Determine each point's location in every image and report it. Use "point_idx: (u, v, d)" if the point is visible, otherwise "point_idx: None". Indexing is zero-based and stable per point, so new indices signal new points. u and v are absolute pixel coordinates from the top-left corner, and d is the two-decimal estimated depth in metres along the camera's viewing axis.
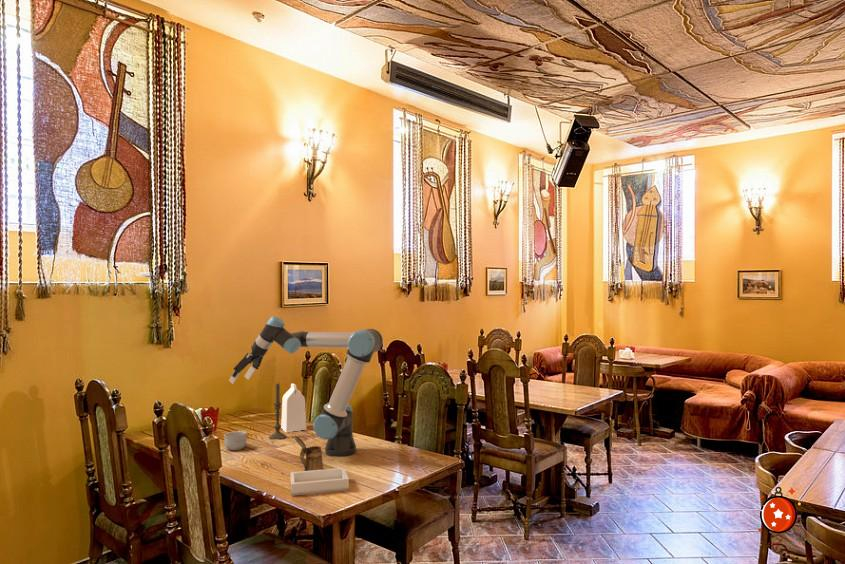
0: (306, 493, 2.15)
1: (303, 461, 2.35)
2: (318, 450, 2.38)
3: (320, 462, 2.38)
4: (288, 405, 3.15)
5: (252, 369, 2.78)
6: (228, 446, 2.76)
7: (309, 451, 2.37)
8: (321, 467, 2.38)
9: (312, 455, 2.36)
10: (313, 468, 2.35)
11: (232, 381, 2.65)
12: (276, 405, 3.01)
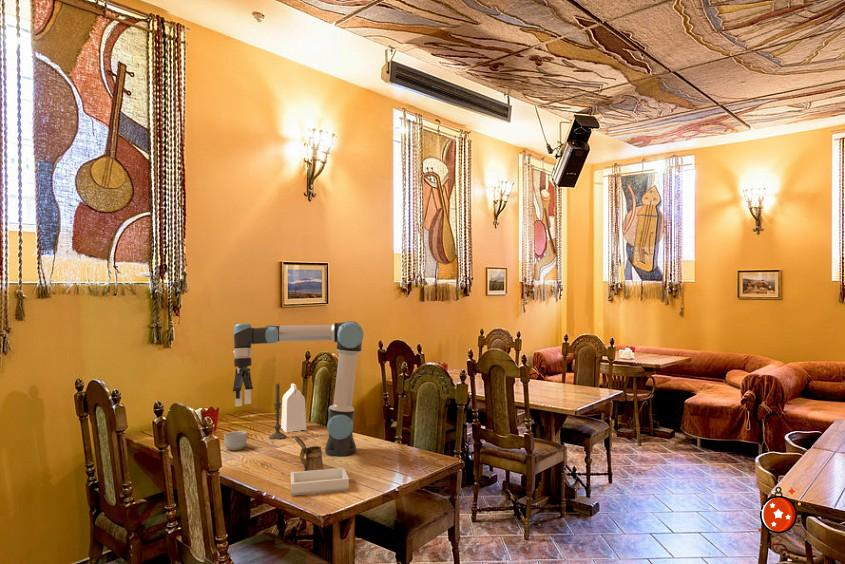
0: (306, 493, 2.15)
1: (303, 461, 2.35)
2: (318, 450, 2.38)
3: (320, 462, 2.38)
4: (288, 405, 3.15)
5: (248, 391, 2.58)
6: (228, 446, 2.76)
7: (309, 451, 2.37)
8: (321, 467, 2.38)
9: (312, 455, 2.36)
10: (313, 468, 2.35)
11: (239, 404, 2.44)
12: (276, 405, 3.01)
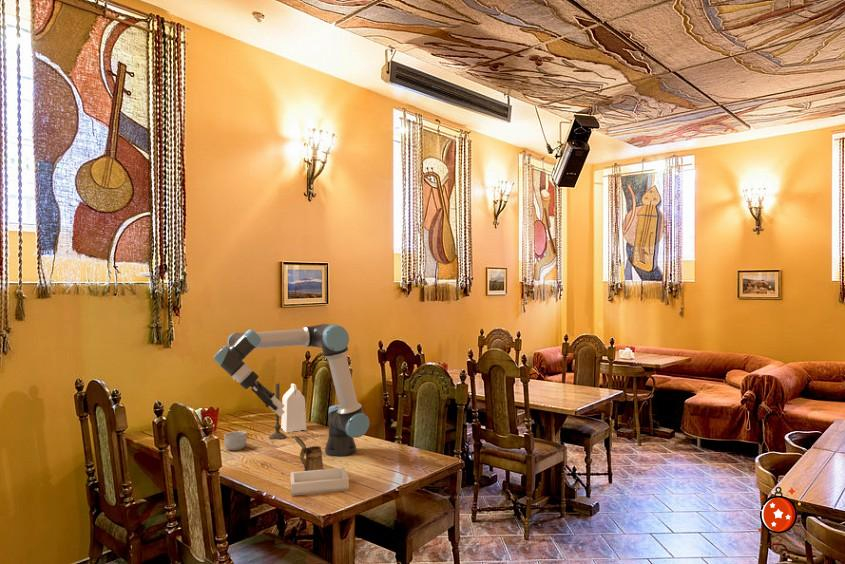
0: (306, 493, 2.15)
1: (303, 461, 2.35)
2: (318, 450, 2.38)
3: (320, 462, 2.38)
4: (288, 405, 3.15)
5: (273, 398, 2.42)
6: (228, 446, 2.76)
7: (309, 451, 2.37)
8: (321, 467, 2.38)
9: (312, 455, 2.36)
10: (313, 468, 2.35)
11: (282, 411, 2.29)
12: None
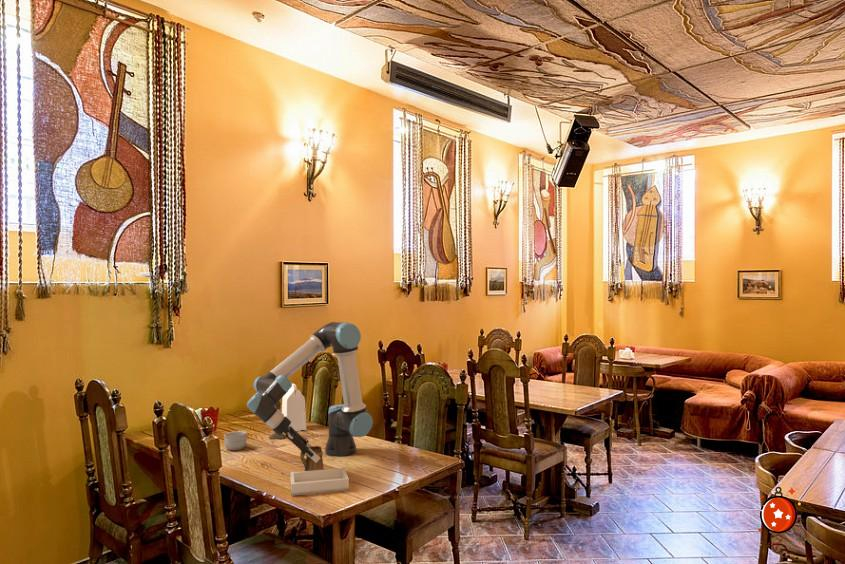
0: (306, 493, 2.15)
1: (303, 461, 2.35)
2: (318, 450, 2.37)
3: (320, 462, 2.37)
4: (288, 405, 3.15)
5: (308, 446, 2.42)
6: (228, 446, 2.76)
7: None
8: (321, 467, 2.37)
9: None
10: (313, 468, 2.35)
11: (317, 457, 2.35)
12: (276, 405, 3.01)
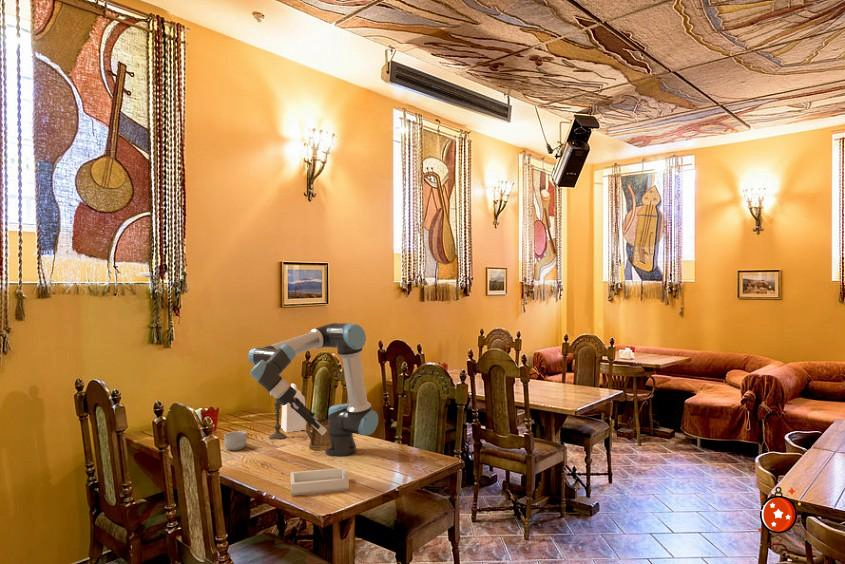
0: (306, 493, 2.15)
1: (309, 433, 2.22)
2: (325, 422, 2.24)
3: (327, 435, 2.24)
4: (288, 405, 3.15)
5: (314, 418, 2.29)
6: (228, 446, 2.76)
7: None
8: (328, 441, 2.24)
9: None
10: (319, 441, 2.22)
11: (324, 430, 2.22)
12: (276, 405, 3.01)
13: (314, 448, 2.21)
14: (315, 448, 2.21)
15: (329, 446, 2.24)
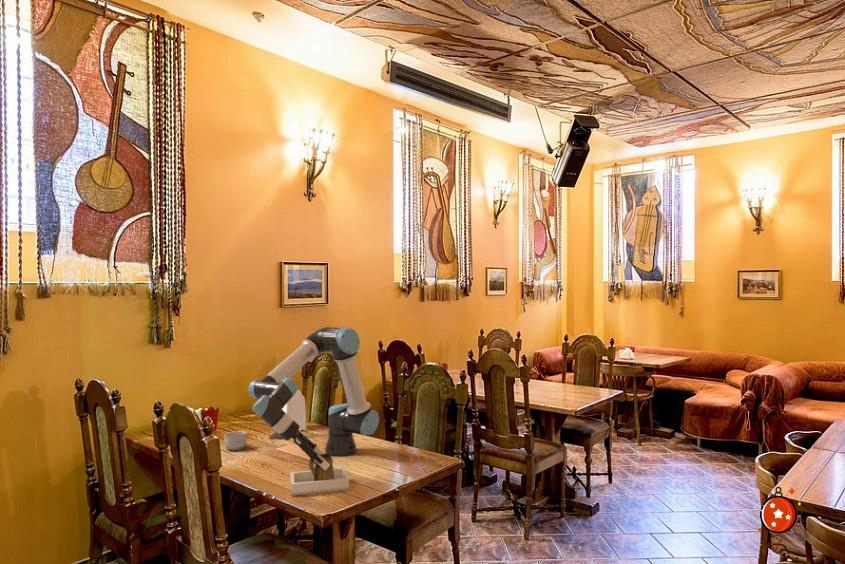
0: (306, 493, 2.15)
1: (312, 470, 2.20)
2: (328, 458, 2.22)
3: (330, 471, 2.22)
4: (288, 405, 3.15)
5: (316, 450, 2.28)
6: (228, 446, 2.76)
7: None
8: (332, 476, 2.22)
9: None
10: (323, 477, 2.20)
11: (327, 465, 2.18)
12: None
13: None
14: None
15: None
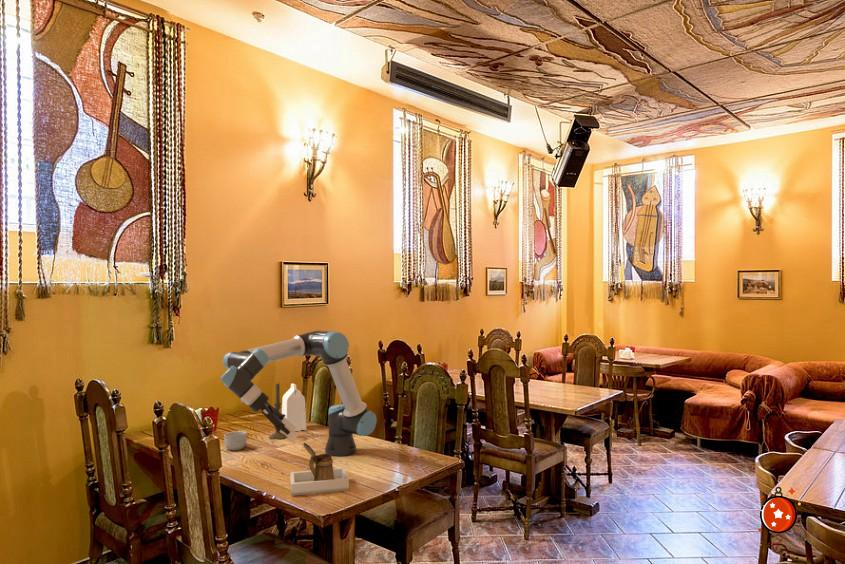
0: (306, 493, 2.15)
1: (312, 470, 2.20)
2: (328, 458, 2.22)
3: (331, 471, 2.22)
4: (288, 405, 3.15)
5: (284, 420, 2.27)
6: (228, 446, 2.76)
7: (319, 459, 2.21)
8: (332, 476, 2.22)
9: (322, 463, 2.20)
10: (323, 477, 2.20)
11: (294, 435, 2.14)
12: (276, 405, 3.01)
13: None
14: None
15: None
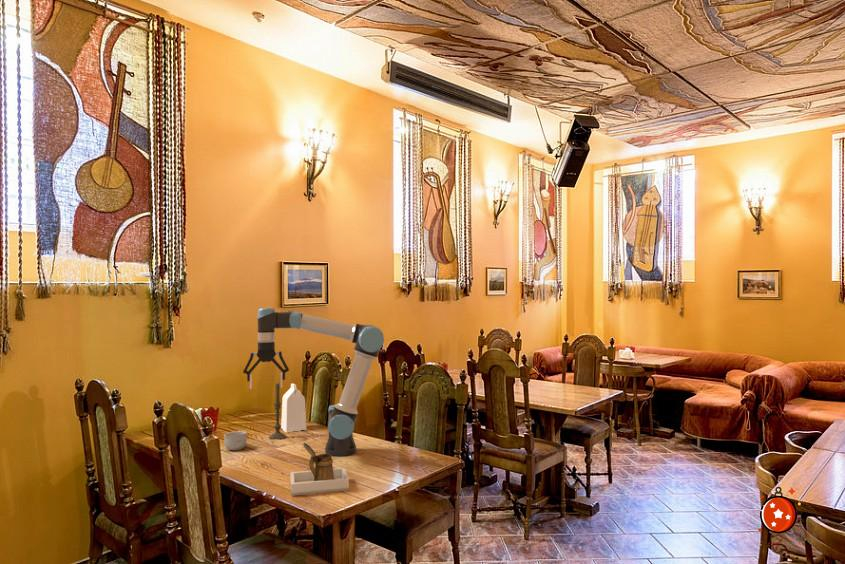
0: (306, 493, 2.15)
1: (312, 470, 2.20)
2: (328, 458, 2.22)
3: (331, 471, 2.22)
4: (288, 405, 3.15)
5: None
6: (228, 446, 2.76)
7: (319, 459, 2.21)
8: (332, 476, 2.22)
9: (322, 463, 2.20)
10: (323, 477, 2.20)
11: None
12: (276, 405, 3.01)
13: None
14: None
15: None
